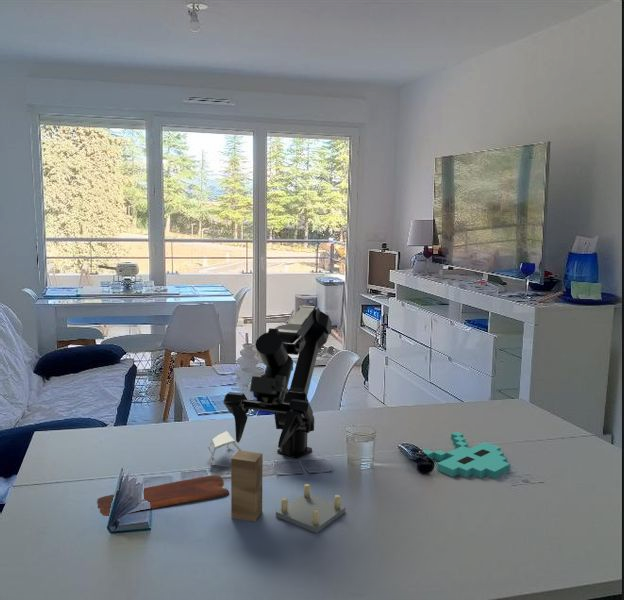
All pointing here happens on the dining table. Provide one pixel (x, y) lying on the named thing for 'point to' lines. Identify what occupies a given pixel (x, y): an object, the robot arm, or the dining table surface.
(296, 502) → the peg plate
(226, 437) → the white gabled frame
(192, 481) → the wooden tablet
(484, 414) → the dining table surface
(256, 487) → the walnut shelf block
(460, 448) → the alien figure
